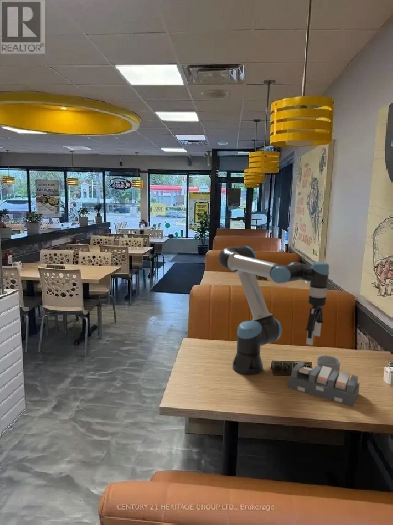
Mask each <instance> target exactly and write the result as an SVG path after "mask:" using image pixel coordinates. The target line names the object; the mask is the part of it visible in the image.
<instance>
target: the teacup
mask: <svg viewBox="0 0 393 525" xmlns="http://www.w3.org/2000/svg"><path fill="white" fill-rule="evenodd" d="M316 363H317V364H316V366H319V367H321V369H322V367H323V366H325V367H330V368H332V371H331V374H332V372H333V371H334V370H335V371H339V372H340V371H341V370H340V369H341V368H340V367H341V360H340V359H339V358H337V357H335V356H331V355H326V354H322V355H320V356H318V357H317V358H316ZM331 374H330V375H331Z"/></svg>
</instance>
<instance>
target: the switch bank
mask: <svg viewBox="0 0 393 525" xmlns="http://www.w3.org/2000/svg"><path fill="white" fill-rule="evenodd" d="M304 367H305V362H302V361H298V362H297V364H296V365H295V366H294V367H293V368H292V369H291V374H290V375H289V376H288V385H287V388H288V389H290V390H291V389H292V390H295V391H298V392H301V393H302V392H303V393H305V394H309V395H312V396H316V397H319V398H322V399H326V400H330V401H333V402H336V403H339V404H343V405H345V406H349V407H354V405H355V402H356V401H357V399H358V396H359V393H360V382H358V380H359V376H358V375H354V374H351V376H350V377H349V380H348V383H347V386H346V389H345V390H343V389H339V388H335V384H336V382H337V379H338V377H339V374H340V370H339V371H335V370H334V371H333V372H332V374H331V375H330V376H329V378H328V381H327V384H326V385H324V384H321V383H317V378H318V375H319V373H320V371H321V367H319V366H317V365H316V366H315V367H314V368H312V369H313V371H312V372H311V373H310V374H305V373H301V372H299V369H300V368H304Z"/></svg>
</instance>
